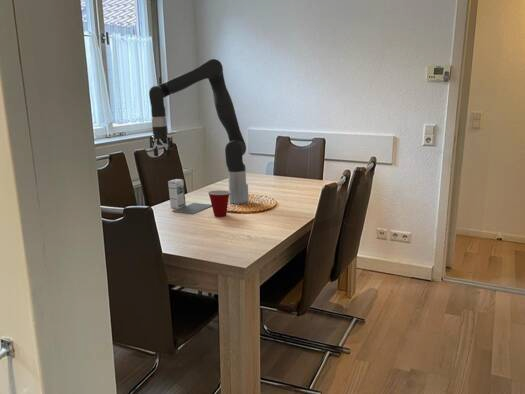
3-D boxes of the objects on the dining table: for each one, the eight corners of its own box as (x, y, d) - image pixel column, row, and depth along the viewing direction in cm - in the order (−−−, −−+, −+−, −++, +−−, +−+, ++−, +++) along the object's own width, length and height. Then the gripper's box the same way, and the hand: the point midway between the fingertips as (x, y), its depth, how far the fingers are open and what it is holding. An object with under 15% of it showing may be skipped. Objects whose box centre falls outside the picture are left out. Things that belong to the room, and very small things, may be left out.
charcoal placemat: (213, 205, 253) (213, 204, 253) (192, 214, 237) (192, 213, 237) (193, 203, 259) (193, 202, 259) (172, 211, 244) (172, 211, 244)
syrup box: (177, 208, 249) (175, 181, 246) (170, 207, 253) (167, 180, 249) (186, 206, 253) (183, 179, 250) (178, 205, 257) (176, 178, 254)
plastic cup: (236, 214, 233) (235, 190, 230) (219, 219, 226) (217, 194, 223) (222, 211, 240) (220, 187, 238) (204, 216, 233) (203, 191, 230)
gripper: (174, 124, 248) (177, 156, 251) (154, 124, 255) (157, 155, 259) (164, 126, 242) (167, 158, 245) (144, 126, 249) (147, 157, 253)
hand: (162, 156), depth 252 cm, fingers open, 8 cm apart
